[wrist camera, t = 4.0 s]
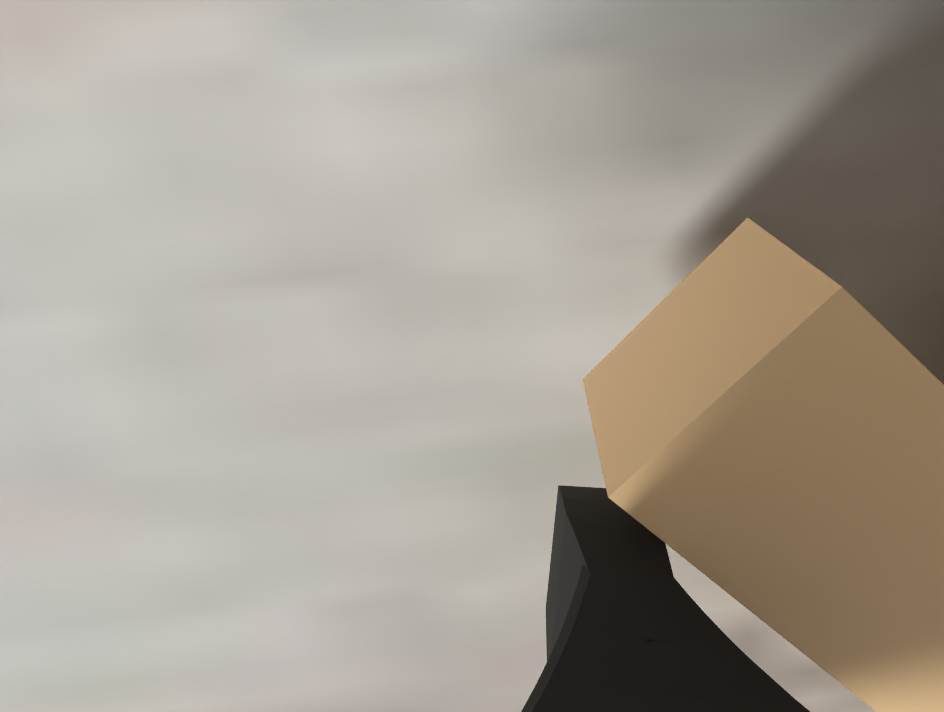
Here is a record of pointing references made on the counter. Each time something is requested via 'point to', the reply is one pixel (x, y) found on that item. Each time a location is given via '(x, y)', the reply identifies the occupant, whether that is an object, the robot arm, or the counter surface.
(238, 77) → the counter surface
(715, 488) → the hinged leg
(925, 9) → the counter surface
